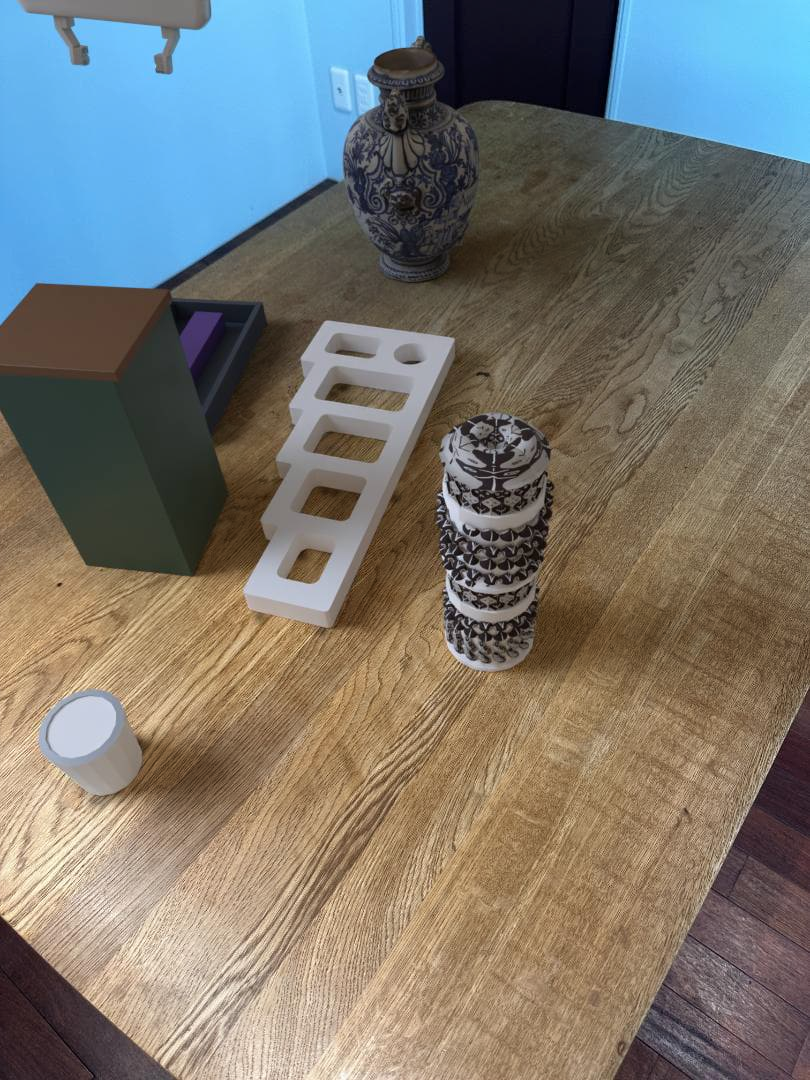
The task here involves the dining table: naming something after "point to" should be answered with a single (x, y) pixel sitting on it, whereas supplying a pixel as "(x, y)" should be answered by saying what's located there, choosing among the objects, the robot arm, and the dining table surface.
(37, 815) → the dining table surface
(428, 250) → the decorative vase
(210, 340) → the purple bar
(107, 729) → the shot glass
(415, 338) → the holder
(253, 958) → the dining table surface
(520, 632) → the decorative candle
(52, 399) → the brown-capped green pillar
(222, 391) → the tray
